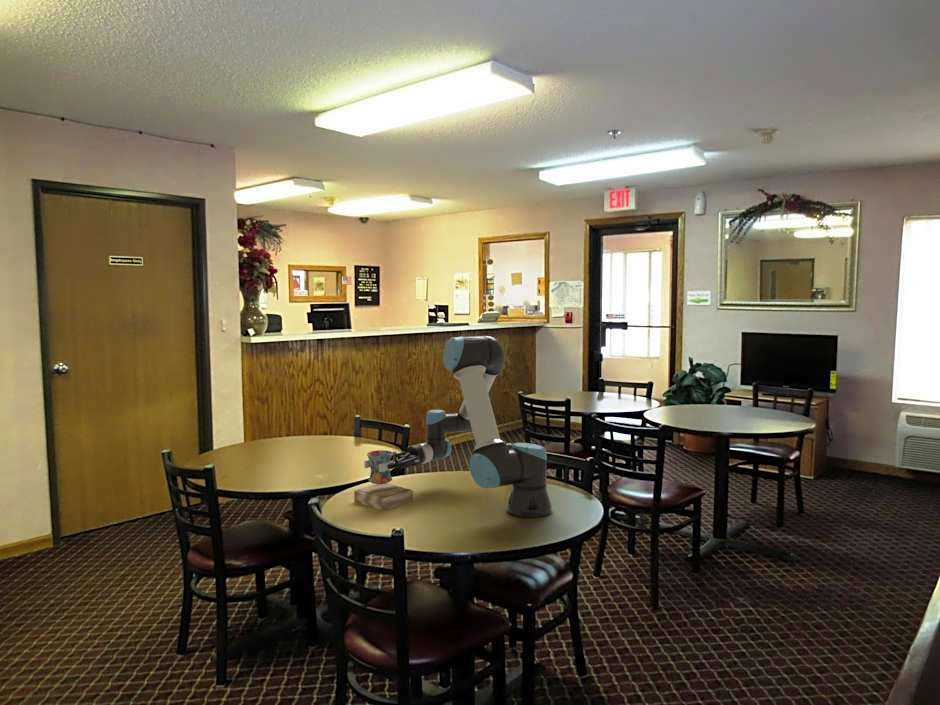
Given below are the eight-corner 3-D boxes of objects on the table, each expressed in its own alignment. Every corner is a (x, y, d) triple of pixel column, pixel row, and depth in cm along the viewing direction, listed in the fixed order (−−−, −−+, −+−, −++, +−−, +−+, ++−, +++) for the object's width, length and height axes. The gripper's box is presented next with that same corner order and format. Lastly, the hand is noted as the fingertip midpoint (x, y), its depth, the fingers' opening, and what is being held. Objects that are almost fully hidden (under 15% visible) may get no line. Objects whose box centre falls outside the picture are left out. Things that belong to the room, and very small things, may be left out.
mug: (379, 487, 226) (379, 457, 225) (362, 482, 232) (361, 453, 231) (404, 479, 235) (403, 451, 235) (386, 475, 241) (386, 447, 240)
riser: (412, 500, 234) (412, 489, 234) (383, 510, 224) (383, 498, 223) (383, 492, 245) (383, 481, 244) (354, 501, 234) (354, 489, 234)
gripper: (437, 468, 240) (391, 481, 223) (400, 459, 254) (354, 471, 236) (437, 448, 240) (391, 460, 223) (400, 441, 253) (354, 451, 236)
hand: (372, 466), depth 230 cm, fingers closed on mug, 7 cm apart
